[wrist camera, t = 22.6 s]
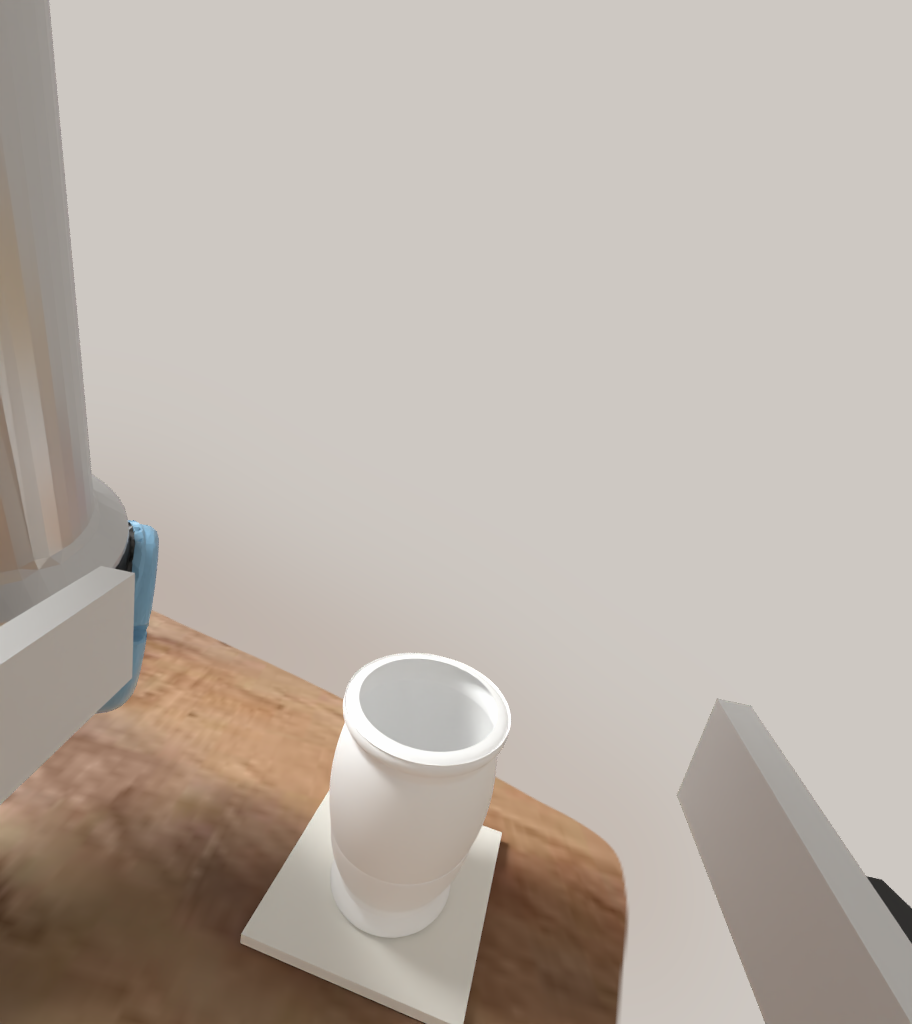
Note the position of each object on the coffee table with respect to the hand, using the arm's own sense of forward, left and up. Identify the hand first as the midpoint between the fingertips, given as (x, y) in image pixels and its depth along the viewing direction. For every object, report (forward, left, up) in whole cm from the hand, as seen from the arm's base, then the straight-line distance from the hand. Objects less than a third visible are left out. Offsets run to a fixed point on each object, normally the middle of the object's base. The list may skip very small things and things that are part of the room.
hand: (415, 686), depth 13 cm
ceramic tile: (-2, +19, -30) cm, 35 cm away
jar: (-2, +19, -29) cm, 35 cm away
